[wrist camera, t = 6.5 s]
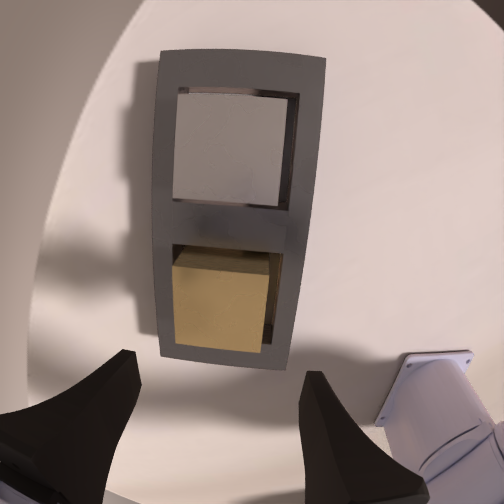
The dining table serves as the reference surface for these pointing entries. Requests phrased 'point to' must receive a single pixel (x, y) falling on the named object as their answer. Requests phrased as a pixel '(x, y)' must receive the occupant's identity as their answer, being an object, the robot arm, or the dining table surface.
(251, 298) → the brushed gold cube
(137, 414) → the dining table surface
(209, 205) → the grey tray
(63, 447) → the robot arm
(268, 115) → the silver gray cube
